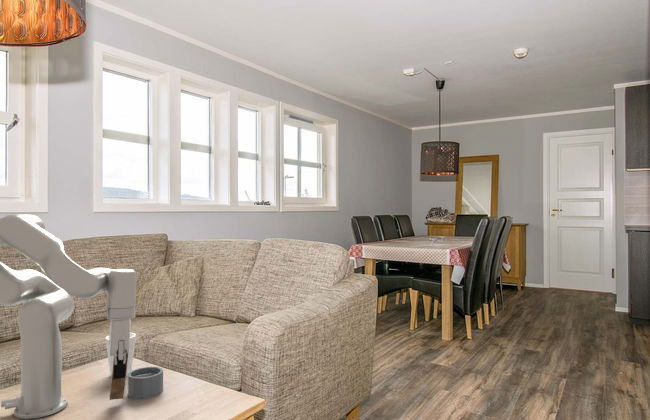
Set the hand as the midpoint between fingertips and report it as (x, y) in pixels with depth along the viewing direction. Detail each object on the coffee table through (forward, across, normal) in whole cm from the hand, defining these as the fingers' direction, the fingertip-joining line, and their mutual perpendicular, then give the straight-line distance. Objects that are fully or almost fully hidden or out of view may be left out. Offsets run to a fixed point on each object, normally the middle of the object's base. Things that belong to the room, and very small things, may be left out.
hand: (119, 376), depth 124 cm
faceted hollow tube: (+8, -6, +8) cm, 13 cm away
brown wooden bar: (+6, 0, 0) cm, 6 cm away
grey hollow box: (+8, -6, +8) cm, 13 cm away
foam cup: (+8, -26, +2) cm, 27 cm away
